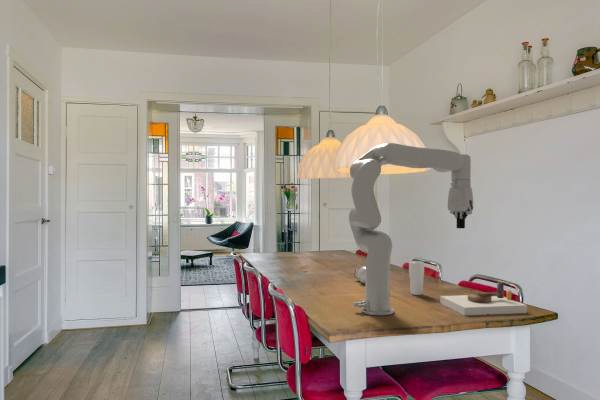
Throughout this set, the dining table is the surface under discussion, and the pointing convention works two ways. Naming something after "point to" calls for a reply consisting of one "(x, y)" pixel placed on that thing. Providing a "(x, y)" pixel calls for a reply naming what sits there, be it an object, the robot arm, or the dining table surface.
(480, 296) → the brown l-shaped piece
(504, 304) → the stand
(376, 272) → the robot arm
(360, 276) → the potion bottle
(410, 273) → the drinking glass
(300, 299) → the dining table surface
